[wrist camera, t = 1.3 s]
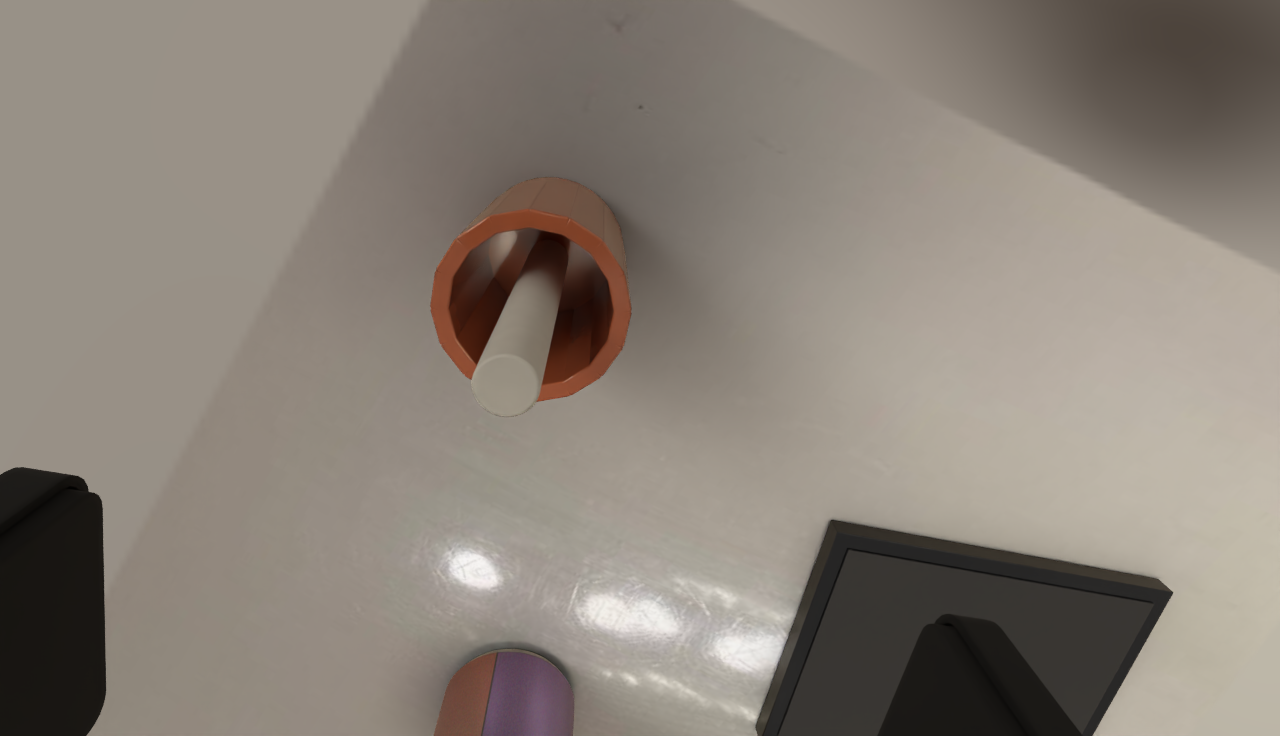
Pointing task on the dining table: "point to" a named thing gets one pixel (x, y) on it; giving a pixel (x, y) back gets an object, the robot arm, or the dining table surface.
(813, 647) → the tablet
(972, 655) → the robot arm
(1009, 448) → the dining table surface
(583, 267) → the pen cup
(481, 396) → the stylus
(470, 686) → the beverage can
